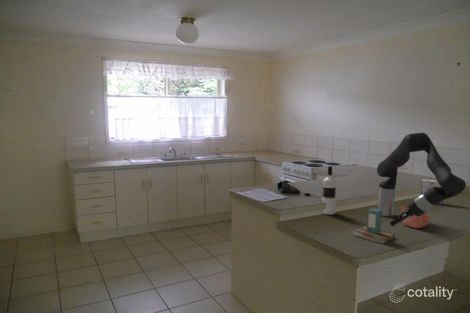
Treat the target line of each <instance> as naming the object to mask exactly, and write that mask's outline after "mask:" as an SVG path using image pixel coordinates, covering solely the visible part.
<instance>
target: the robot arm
mask: <svg viewBox="0 0 470 313" xmlns="http://www.w3.org/2000/svg"><path fill="white" fill-rule="evenodd" d="M436 148H437V147H436V146H435V145H434V143H433V142H432V140H431V138H430V136H429V135H428V134H427V133H425V132H415V133H409V134H406V135H405V136H404V137H403V138H402V140H401V141H400V143H399V144H398V145H397V147H396V148H394V150H393V151H391V153H390V154H389V155H388V156H387V157H386V158H384V159H383V160H382V161H381V162H379V163H378V165H377V168H376V173H377V175H378V176H379V177H381V178H387V179H386V180H384V181H383V180H382V181H380V182H379V184H378V199H377V200H378V201H377V202H378V203H377V209H378V210H382V217H388V218H389V217H394V214H395V213H394V212H395V198H396V195H395V194H396V187H397V186H396V185H397V180H398V179H397V177H398V169H399V168H401V167H403V166H405V165H406V163H407V162H409V160H410V158H411V154H410V153H416V152H423V151H424V152H425V153H426V154H427V158H426V165H427V167H428V169H429V171H431V173H432V174H433V175H434V176H435V180H437V182H438V183H439V185H440V186H441V187H432V188H430V189H429V190H427V191H426V192H424V193H423V194H421V193H420V194H419V195H417V196H416V197H414V199H412V200H410V201H409V202H408V203H407V209H406V208H405V210H404V211H403V210H402V212H401V213H399V214H398V215H397V216H396V217H394V219H392V220H391V221H389V225H390V226H391V227H395V226H396V225H398V224H401V223H403V221H405V220H406V219H408V218H410V217H412V216H414V215H415V216H418V217H419V216H421V215H423V214H424V213H426V212H427V213H428V212H429V211H431V210H432V209H433V208H434V207H435V206H437V205H439V204H438V203H440V202H441V201H444V200H447V199H450V198H453V197H455V196H458V195H460V194H461V193H463V191H465V189H466V187H467V185H466V184H467V182H466V181H465V180H464V179H463V178H461V177H459V176H457V175H455V174H453V172H452V169H451V167H450V166H449V165H448V163H447V162H446V161H445V160H444V159H443V158H442V157H441V155H440V154H439V152H438V150H437V149H436Z"/></svg>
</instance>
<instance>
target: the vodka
mask: <svg viewBox="0 0 470 313" xmlns="http://www.w3.org/2000/svg"><path fill="white" fill-rule="evenodd" d="M336 189H337V180H336V178H334V177H333V166H328V167H327V176H326V177H324V178H323V179H322V196H321V202H322V201H323V202H324V203H326V204H327V205H326V208H325V210H324V211H323V213H322V214H323V215H330V216H333V215H335V214H336V212H337V209H336V199H337V198H336V191H337V190H336Z"/></svg>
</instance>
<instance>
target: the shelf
mask: <svg viewBox="0 0 470 313" xmlns="http://www.w3.org/2000/svg"><path fill="white" fill-rule="evenodd" d="M395 235H396V234H395V233H393V232H390V231H386V230H381V233H379V234H378V235H375V234H371V233H367V225H364V226H362V227H361V228H358V229H355V228H353V230H352V236H355V237H358V238H361V239H364V240H365V239H366V240H368V241H371V242H375V243H379V244H387V242H389V241H391V240H393V239H394V238H396V236H395Z"/></svg>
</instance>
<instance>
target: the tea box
mask: <svg viewBox="0 0 470 313" xmlns="http://www.w3.org/2000/svg"><path fill="white" fill-rule="evenodd" d="M382 217H383V216H382V210H378V208H370V209H367V218H366V220H367V221H366V227H367V233H371V234H375V235H378V234H379V233H381V229H382Z"/></svg>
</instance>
